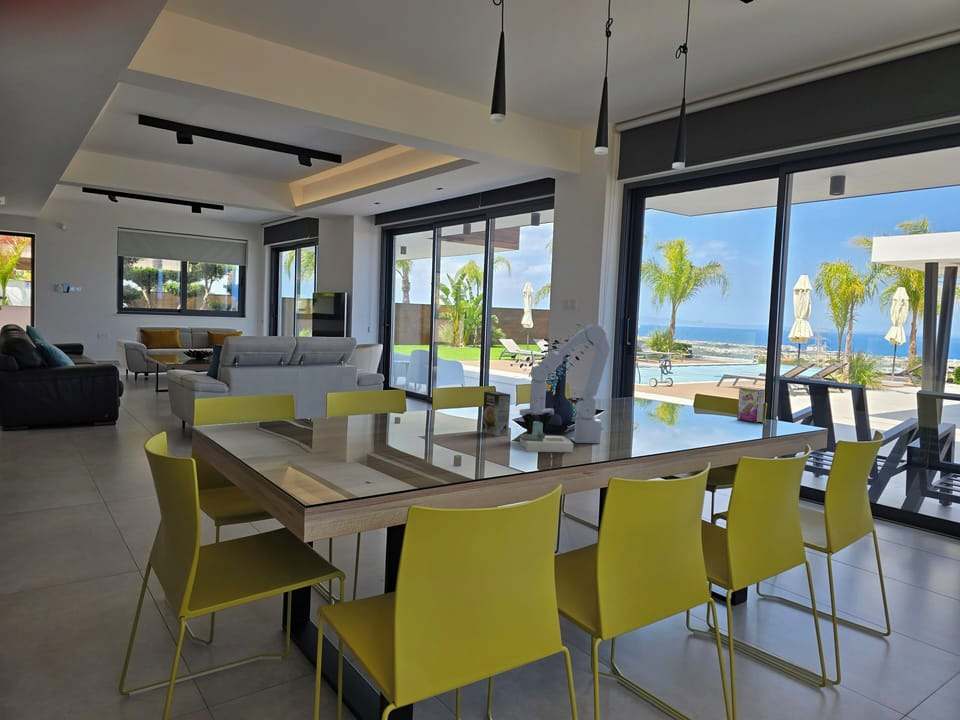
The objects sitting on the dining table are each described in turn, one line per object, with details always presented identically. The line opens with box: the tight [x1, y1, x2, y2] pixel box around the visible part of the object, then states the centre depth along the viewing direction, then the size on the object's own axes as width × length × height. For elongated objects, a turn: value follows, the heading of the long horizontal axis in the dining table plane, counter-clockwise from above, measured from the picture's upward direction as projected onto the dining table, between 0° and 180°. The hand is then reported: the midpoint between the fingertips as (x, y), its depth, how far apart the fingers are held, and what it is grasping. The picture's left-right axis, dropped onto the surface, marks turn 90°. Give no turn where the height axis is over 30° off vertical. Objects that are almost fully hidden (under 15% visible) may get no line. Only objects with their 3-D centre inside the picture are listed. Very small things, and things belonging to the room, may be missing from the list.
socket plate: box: [519, 435, 574, 453], centre depth 221 cm, size 16×14×3 cm
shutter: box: [519, 431, 546, 441], centre depth 220 cm, size 8×7×2 cm
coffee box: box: [482, 390, 511, 437], centre depth 244 cm, size 9×6×16 cm
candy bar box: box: [736, 386, 766, 424], centre depth 309 cm, size 11×5×16 cm, turn 30°
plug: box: [530, 420, 543, 435], centre depth 236 cm, size 4×4×6 cm
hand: (535, 433), depth 236 cm, fingers closed on plug, 5 cm apart
